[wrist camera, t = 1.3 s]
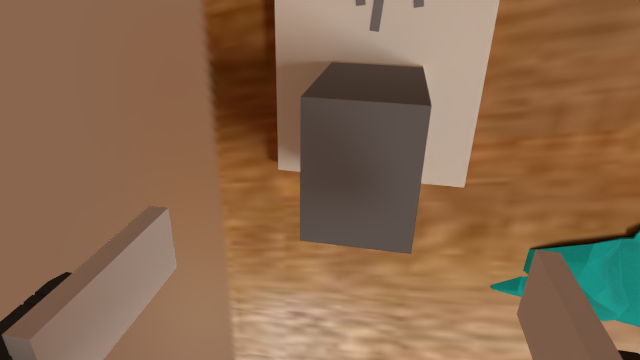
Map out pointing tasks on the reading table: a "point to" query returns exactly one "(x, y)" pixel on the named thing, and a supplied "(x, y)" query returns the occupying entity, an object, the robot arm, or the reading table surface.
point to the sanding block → (363, 155)
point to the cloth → (599, 276)
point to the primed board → (390, 48)
